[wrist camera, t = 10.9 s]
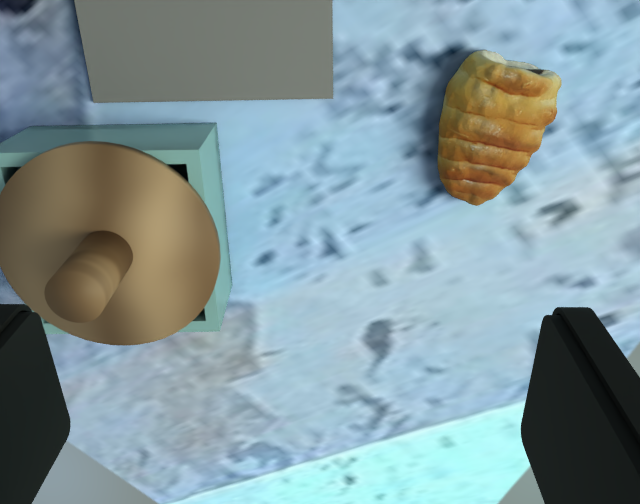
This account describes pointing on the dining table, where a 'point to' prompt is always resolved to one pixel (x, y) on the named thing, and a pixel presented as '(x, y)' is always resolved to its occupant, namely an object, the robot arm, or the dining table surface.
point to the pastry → (492, 123)
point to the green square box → (166, 145)
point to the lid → (108, 243)
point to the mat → (207, 49)
